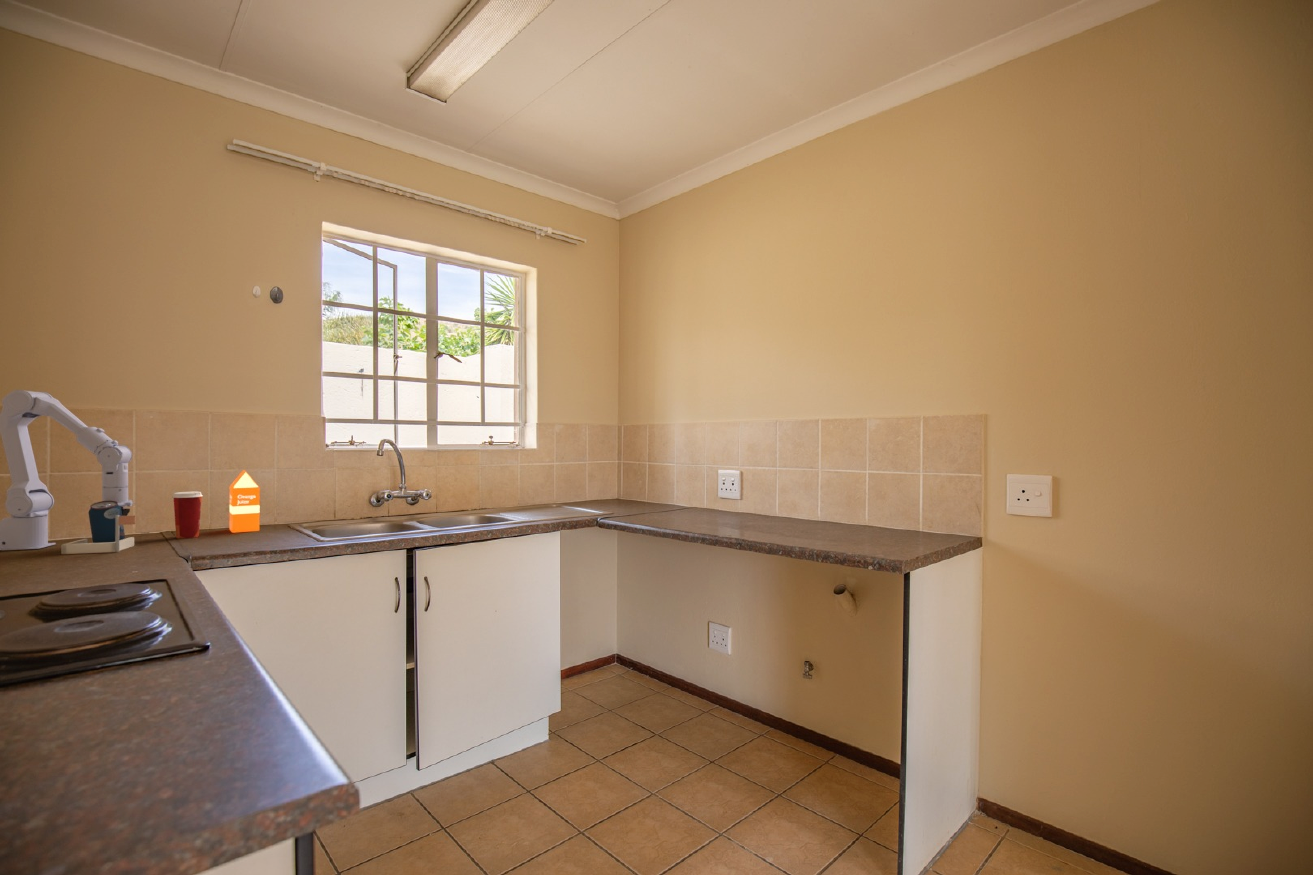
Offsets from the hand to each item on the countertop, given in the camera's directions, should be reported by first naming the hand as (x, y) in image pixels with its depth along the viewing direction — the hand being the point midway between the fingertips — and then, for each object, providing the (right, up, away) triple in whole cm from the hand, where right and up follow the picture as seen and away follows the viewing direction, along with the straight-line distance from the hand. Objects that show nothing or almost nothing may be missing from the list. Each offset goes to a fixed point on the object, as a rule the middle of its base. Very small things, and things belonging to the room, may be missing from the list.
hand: (115, 534), depth 181 cm
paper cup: (+10, -3, +14) cm, 18 cm away
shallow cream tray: (+5, -3, -8) cm, 9 cm away
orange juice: (+18, -3, +29) cm, 35 cm away
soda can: (+1, -2, -3) cm, 4 cm away
